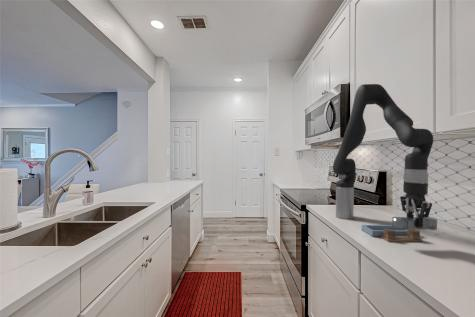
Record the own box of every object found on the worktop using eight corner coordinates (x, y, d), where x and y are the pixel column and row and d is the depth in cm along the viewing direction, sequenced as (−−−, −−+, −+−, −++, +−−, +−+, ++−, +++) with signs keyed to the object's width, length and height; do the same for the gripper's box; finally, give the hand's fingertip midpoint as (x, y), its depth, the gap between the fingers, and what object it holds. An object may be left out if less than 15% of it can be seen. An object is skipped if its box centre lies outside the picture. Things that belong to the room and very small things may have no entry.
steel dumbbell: (389, 225, 96) (389, 216, 96) (429, 225, 96) (430, 216, 96) (397, 229, 91) (397, 220, 91) (440, 229, 91) (440, 220, 91)
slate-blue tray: (361, 230, 113) (361, 224, 113) (404, 230, 113) (404, 225, 113) (372, 236, 104) (372, 230, 104) (419, 237, 104) (419, 231, 104)
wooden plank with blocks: (380, 237, 103) (380, 228, 103) (413, 237, 103) (413, 228, 103) (388, 241, 98) (388, 231, 98) (422, 242, 98) (422, 232, 98)
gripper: (393, 178, 100) (392, 220, 100) (419, 183, 86) (418, 231, 86) (411, 179, 100) (410, 220, 100) (440, 183, 86) (439, 231, 86)
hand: (414, 225), depth 93 cm, fingers closed on steel dumbbell, 4 cm apart
